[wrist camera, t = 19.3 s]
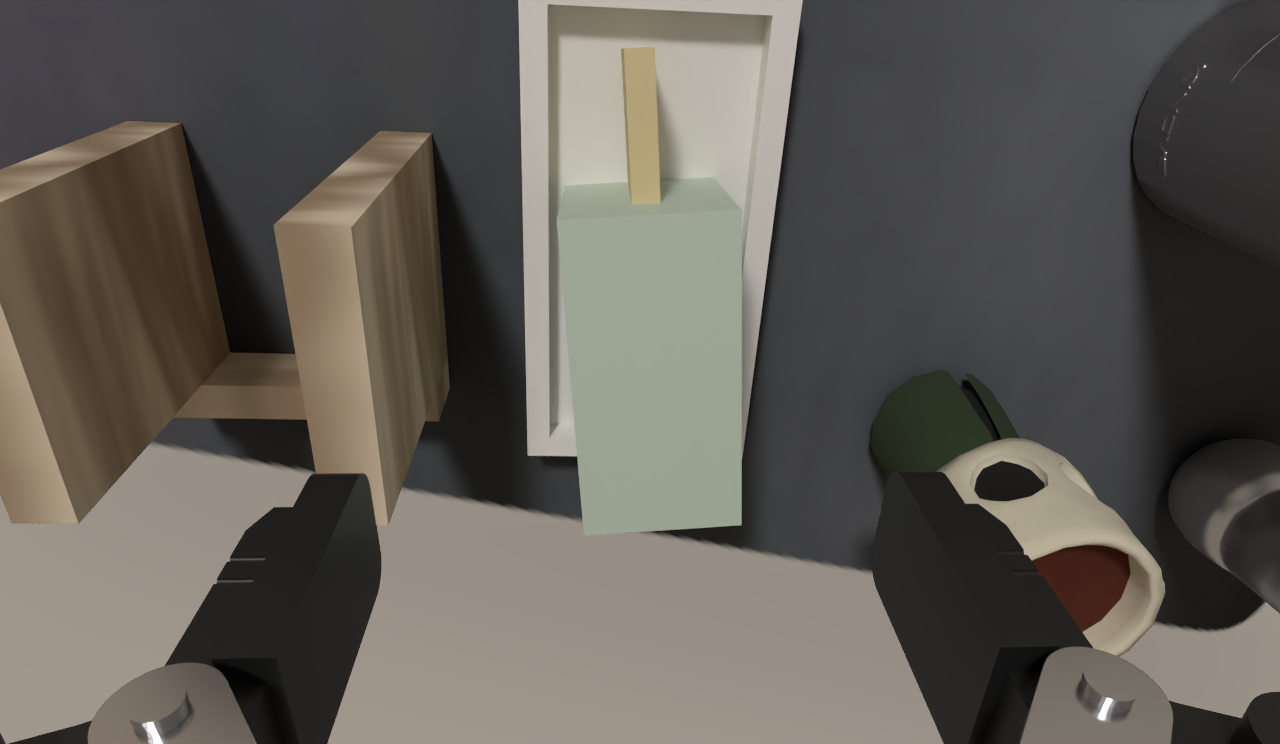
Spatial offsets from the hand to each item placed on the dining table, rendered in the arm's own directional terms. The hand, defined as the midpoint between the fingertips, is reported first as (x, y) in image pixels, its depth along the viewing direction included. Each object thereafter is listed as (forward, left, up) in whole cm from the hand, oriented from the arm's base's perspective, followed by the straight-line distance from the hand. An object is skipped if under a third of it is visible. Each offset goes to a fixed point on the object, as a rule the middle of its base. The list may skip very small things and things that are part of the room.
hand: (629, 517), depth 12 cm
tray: (-2, +3, -23) cm, 23 cm away
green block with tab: (-2, +4, -22) cm, 22 cm away
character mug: (-16, +12, -23) cm, 31 cm away
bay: (+13, +5, -23) cm, 27 cm away
